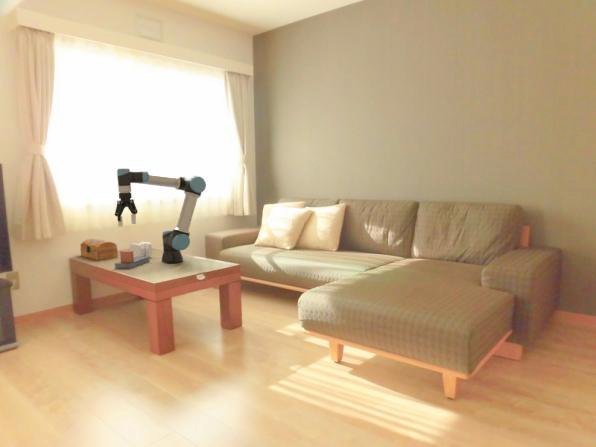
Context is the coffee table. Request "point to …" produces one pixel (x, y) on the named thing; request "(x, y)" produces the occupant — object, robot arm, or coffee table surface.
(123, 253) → the clip
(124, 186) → the robot arm
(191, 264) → the coffee table surface
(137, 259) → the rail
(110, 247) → the wooden box
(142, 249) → the cable organizer
